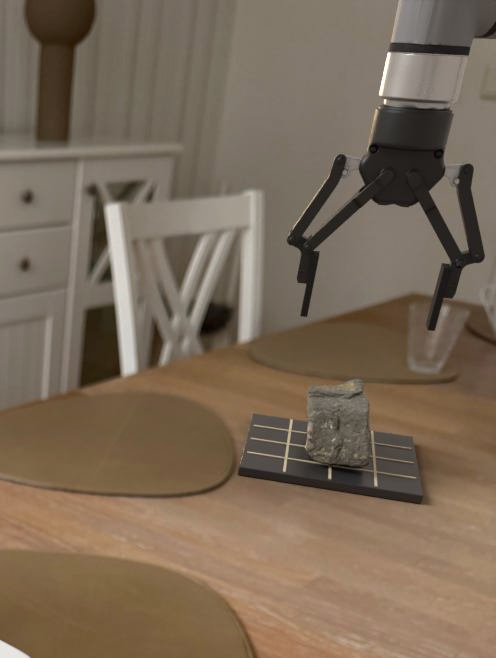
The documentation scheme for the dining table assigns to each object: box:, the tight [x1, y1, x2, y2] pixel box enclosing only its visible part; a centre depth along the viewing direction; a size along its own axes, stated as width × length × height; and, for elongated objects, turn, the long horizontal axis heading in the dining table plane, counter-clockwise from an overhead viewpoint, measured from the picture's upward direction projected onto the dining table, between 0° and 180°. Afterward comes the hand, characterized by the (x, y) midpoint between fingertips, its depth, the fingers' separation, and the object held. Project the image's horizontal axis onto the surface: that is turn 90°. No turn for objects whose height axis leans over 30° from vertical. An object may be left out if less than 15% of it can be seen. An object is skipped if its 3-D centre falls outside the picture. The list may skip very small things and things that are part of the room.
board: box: [237, 412, 424, 505], centre depth 117 cm, size 20×20×1 cm
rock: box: [306, 378, 371, 467], centre depth 115 cm, size 17×7×10 cm
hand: (366, 321), depth 109 cm, fingers open, 13 cm apart
